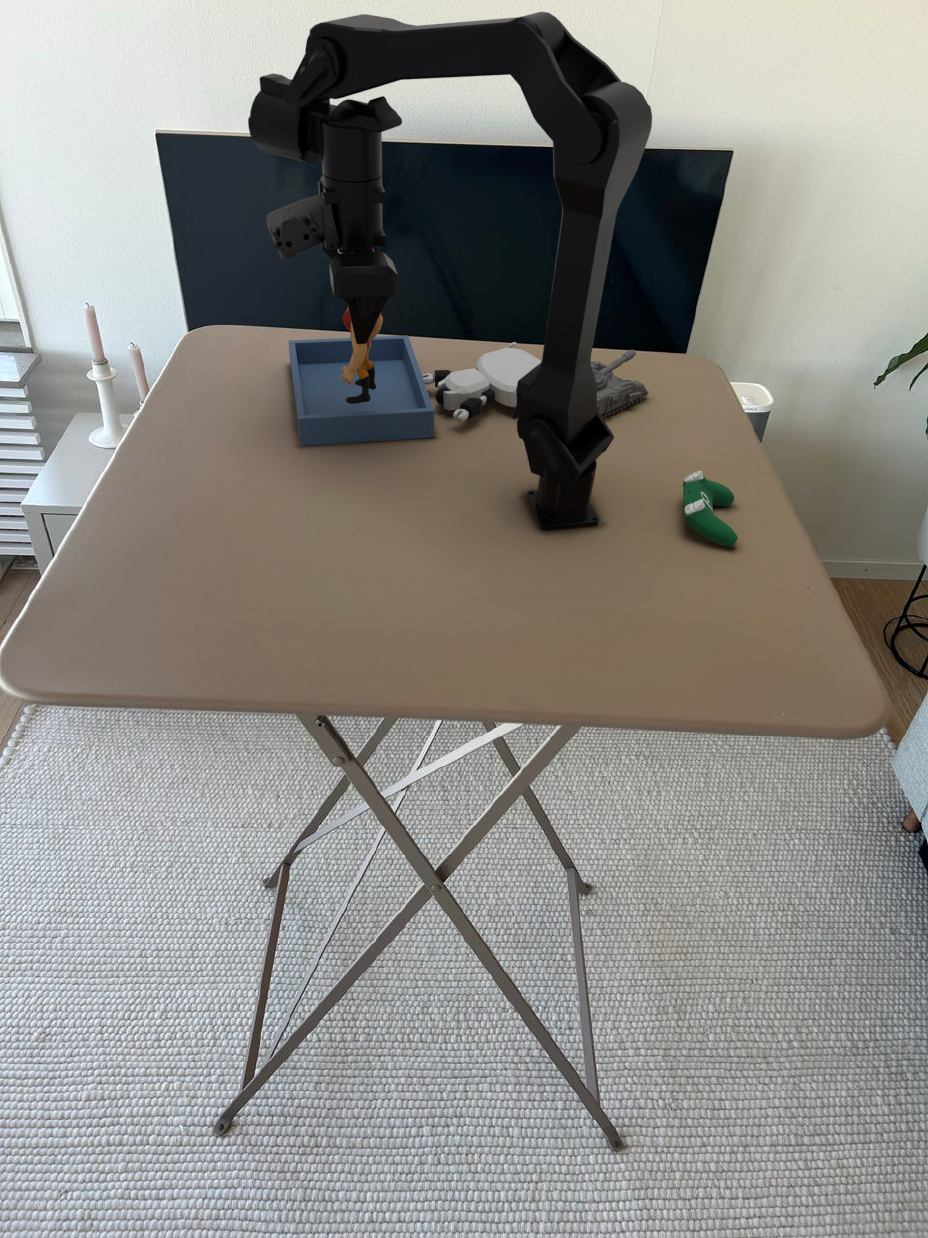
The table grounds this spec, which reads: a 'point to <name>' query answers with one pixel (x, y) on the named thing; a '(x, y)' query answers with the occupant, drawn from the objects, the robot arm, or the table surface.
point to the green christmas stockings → (707, 508)
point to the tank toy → (616, 387)
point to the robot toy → (482, 382)
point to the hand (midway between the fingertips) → (356, 327)
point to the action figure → (360, 363)
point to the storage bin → (393, 403)
